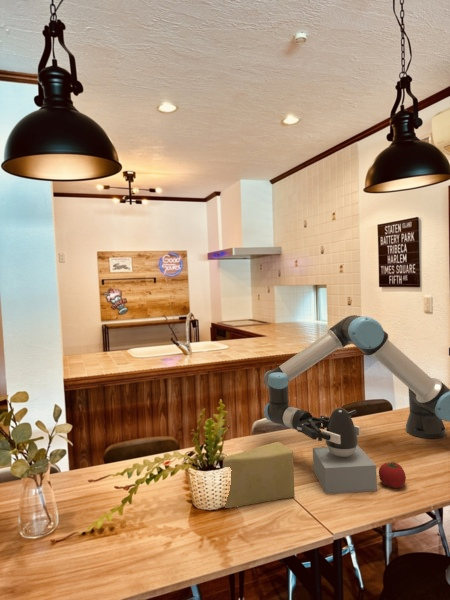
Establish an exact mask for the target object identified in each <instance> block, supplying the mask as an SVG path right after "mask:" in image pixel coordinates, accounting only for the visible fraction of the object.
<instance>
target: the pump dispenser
mask: <svg viewBox="0 0 450 600" xmlns="http://www.w3.org/2000/svg"><path fill="white" fill-rule="evenodd" d="M356 413H357V410H356V409H353V410H351V411H350V410H349V411H347V410H346V409H345V408H342V407H337V408H335V409H333V410H332V412H331V414H330V415H329V417H330V418H329V421H328V424H327V428H325V431H328V432H332V433H335V434H338V435H340V440H341V444H337V443H334V442H331V441H328V440H325V439H324V440H325V444H326V447H328V449H329V450H330V452H331V453H332V454H334V455H336V456H339V457H347V456H350V455H352V454H353V453H354V452H355V450H356V446H357V445H358V444H359V442H358V441H359V440H358V435H357V434H356V430H355V427H354V425H355V423H354V421H353V419H352V416H353V415H355V414H356ZM358 446H359V445H358Z"/></svg>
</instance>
